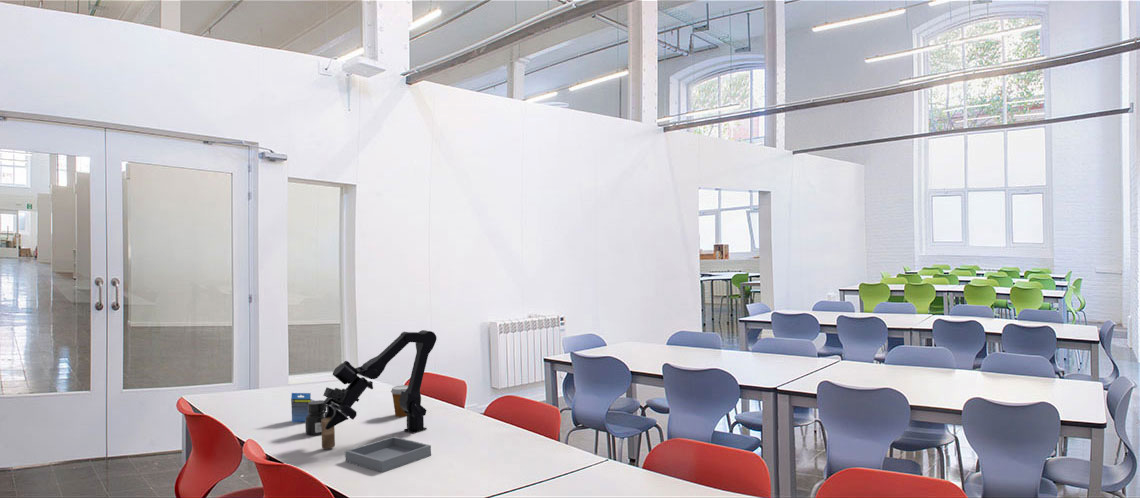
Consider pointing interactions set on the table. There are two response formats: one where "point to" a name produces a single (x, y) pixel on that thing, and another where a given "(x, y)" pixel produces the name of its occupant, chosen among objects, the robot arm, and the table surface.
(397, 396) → the disposable coffee cup
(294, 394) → the label tape box
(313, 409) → the ink bottle
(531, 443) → the table surface
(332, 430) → the post
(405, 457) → the tray
